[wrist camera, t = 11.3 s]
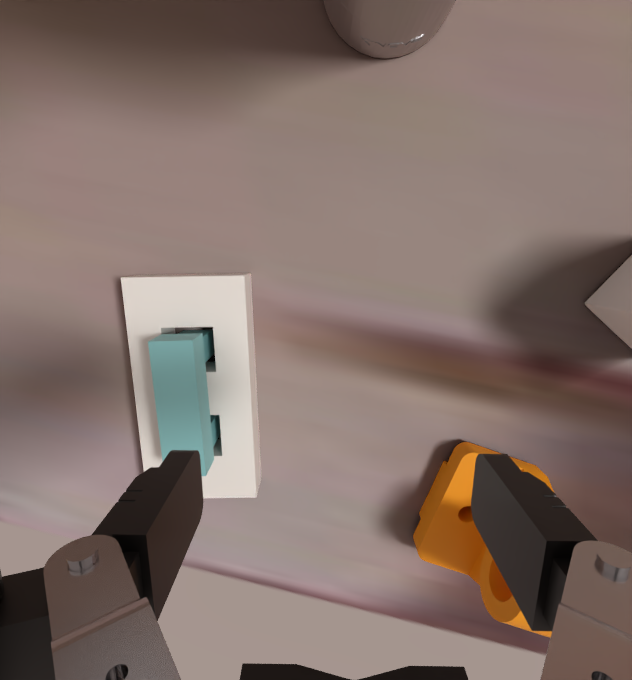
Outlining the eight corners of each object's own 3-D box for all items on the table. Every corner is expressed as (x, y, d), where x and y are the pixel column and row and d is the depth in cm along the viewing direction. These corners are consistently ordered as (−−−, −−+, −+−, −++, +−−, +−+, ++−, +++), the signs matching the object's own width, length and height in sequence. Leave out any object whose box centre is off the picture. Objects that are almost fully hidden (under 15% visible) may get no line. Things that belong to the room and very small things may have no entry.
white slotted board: (138, 275, 33) (120, 277, 30) (250, 272, 33) (244, 275, 30) (160, 479, 37) (147, 498, 34) (261, 477, 37) (256, 497, 34)
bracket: (455, 434, 36) (521, 524, 24) (531, 460, 36) (631, 561, 25) (407, 536, 38) (447, 663, 26) (479, 559, 39) (549, 695, 27)
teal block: (179, 324, 34) (147, 341, 28) (215, 323, 34) (192, 340, 28) (191, 437, 36) (164, 477, 30) (225, 436, 36) (206, 476, 30)
